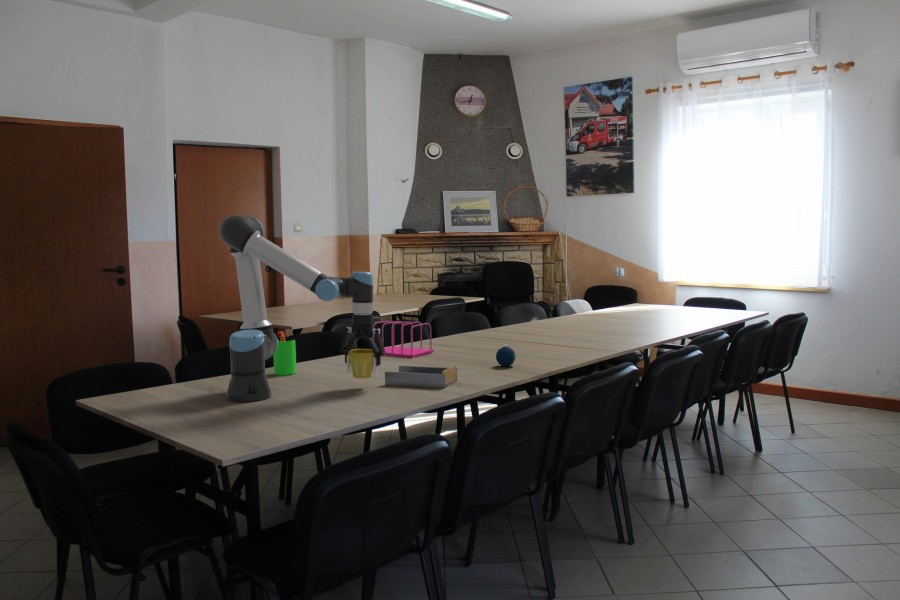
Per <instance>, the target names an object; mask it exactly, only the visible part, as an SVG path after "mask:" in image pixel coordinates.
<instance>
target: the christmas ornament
mask: <svg viewBox="0 0 900 600" xmlns="http://www.w3.org/2000/svg"><path fill="white" fill-rule="evenodd" d="M495 359H496V362H497V364H499V365H500V366H502V367H505V366H506V367H510V366H512V365H513V364H514V363H515V362H516V352H515V351H514V349H513V348H511V347H509V345H508V344H506V343H505V344H503V346H502V347H500V348H499V349H498V350H497V352H496V354H495Z"/></svg>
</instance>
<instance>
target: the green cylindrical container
mask: <svg viewBox="0 0 900 600" xmlns="http://www.w3.org/2000/svg"><path fill="white" fill-rule="evenodd" d="M285 336H286V335H285V332H284V331H278V332H277V337H278V338H280V340H279V339H277V340H278V346H277V349H276V351H275V353H274V354H273V355H272V357H273V375H274V374H277V375H276V376H290V375H289V374H293V375H295V374H294V373H296V374H297V358H296V357H297V351H296V339H294V340H293V339H292V340H287V341H286V337H285Z"/></svg>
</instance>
